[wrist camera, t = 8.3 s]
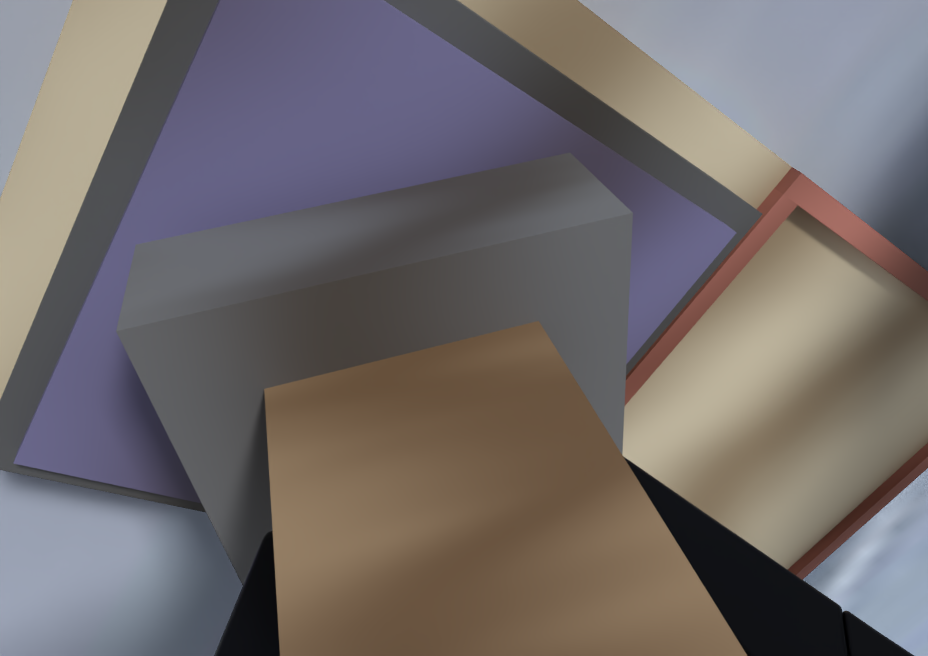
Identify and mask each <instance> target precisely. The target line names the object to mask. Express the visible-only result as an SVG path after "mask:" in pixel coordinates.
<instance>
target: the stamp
mask: <svg viewBox="0 0 928 656" xmlns="http://www.w3.org/2000/svg"><path fill="white" fill-rule="evenodd" d="M632 223H633V212H632V211H630V210H629V209H628V208H627V207H626V206H625V205H624V204H623V203H622V202H621V201H620V200H619V199H618V198H617V197H616V196H615V195H614V194H613V193H612V192H611V191H610V190H609V189H608V188H607V187H605V186H604V185H603V184H602V183H601V182H600V181H599V180H598V179H597V178H596V177H595V176H594V175H593V174H592V173H591V172H590V171H589V170H588V169H587V168H586V167H585V166H584V165H583V164H581V163H580V162H579V161H578V160H577V159H576V158H575V157H574V156H573V155H572V154H571V153H565V154H561V155H556V156H551V157H547V158H542V159H537V160H532V161H528V162H523V163H518V164H514V165H509V166H504V167H499V168H495V169H490V170H485V171H481V172H476V173H471V174H466V175H462V176H457V177H452V178H448V179H443V180H438V181H433V182H429V183H424V184H419V185H415V186H410V187H405V188H400V189H396V190H391V191H386V192H382V193H377V194H372V195H367V196H363V197H358V198H353V199H349V200H344V201H339V202H334V203H330V204H325V205H320V206H316V207H311V208H306V209H301V210H297V211H292V212H287V213H283V214H278V215H273V216H268V217H264V218H259V219H254V220H250V221H245V222H240V223H235V224H231V225H226V226H221V227H217V228H212V229H207V230H202V231H198V232H193V233H188V234H184V235H179V236H174V237H169V238H165V239H160V240H155V241H151V242H146V243H141V244H136V246H135V250H134V255H133V259H132V263H131V268H130V272H129V276H128V281H127V285H126V290H125V294H124V298H123V303H122V307H121V311H120V316H119V320H118V325H117V329H116V332H117V334H118V336H119V338H120V340H121V342H122V344H123V346H124V348H125V350H126V352H127V354H128V356H129V358H130V360H131V362H132V364H133V366H134V368H135V370H136V372H137V374H138V376H139V378H140V380H141V382H142V384H143V386H144V388H145V390H146V392H147V394H148V396H149V398H150V400H151V402H152V404H153V406H154V408H155V410H156V412H157V414H158V416H159V418H160V420H161V422H162V424H163V426H164V428H165V430H166V432H167V434H168V436H169V438H170V441H171V443H172V445H173V447H174V449H175V451H176V453H177V455H178V457H179V459H180V461H181V463H182V465H183V467H184V469H185V471H186V473H187V475H188V477H189V479H190V481H191V483H192V485H193V487H194V489H195V491H196V493H197V495H198V497H199V499H200V501H201V503H202V505H203V507H204V509H205V511H206V513H207V515H208V517H209V519H210V521H211V523H212V525H213V527H214V529H215V531H216V533H217V535H218V537H219V539H220V541H221V543H222V545H223V547H224V549H225V551H226V553H227V555H228V557H229V559H230V561H231V563H232V565H233V567H234V569H235V571H236V573H237V575H238V577H239V579H240V581H241V583H242V585H244V582H245V580H246V578H247V575H248V573H249V570H250V568H251V565H252V563H253V561H254V558H255V556H256V553H257V551H258V548H259V546H260V544H261V541H262V539H263V537H264V536H265V535H266V534H267V533H268V532H270V531H273V545H274V562H275V579H276V596H277V613H278V630H279V647H280V656H747V654H746V653H745V651H744V649H743V648H742V646H741V645H740V643H739V641H738V640H737V638H736V637H735V635H734V633H733V632H732V630H731V629H730V627H729V625H728V624H727V622H726V621H725V619H724V617H723V616H722V614H721V613H720V611H719V609H718V608H717V606H716V605H715V603H714V601H713V600H712V598H711V597H710V595H709V593H708V592H707V590H706V589H705V587H704V585H703V584H702V582H701V580H700V579H699V577H698V576H697V574H696V572H695V571H694V569H693V568H692V566H691V564H690V563H689V561H688V560H687V558H686V556H685V555H684V553H683V552H682V550H681V548H680V547H679V545H678V544H677V542H676V540H675V539H674V537H673V536H672V534H671V532H670V531H669V529H668V528H667V526H666V524H665V523H664V521H663V520H662V518H661V516H660V515H659V513H658V511H657V510H656V508H655V507H654V505H653V503H652V502H651V500H650V499H649V497H648V495H647V494H646V492H645V491H644V489H643V487H642V486H641V484H640V483H639V481H638V479H637V478H636V476H635V475H634V473H633V471H632V470H631V468H630V467H629V465H628V463H627V462H626V460H625V459H624V457H623V455H622V453H623V430H624V407H625V384H626V361H627V338H628V315H629V292H630V269H631V246H632Z"/></svg>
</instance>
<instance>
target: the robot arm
mask: <svg viewBox="0 0 928 656" xmlns="http://www.w3.org/2000/svg"><path fill="white" fill-rule="evenodd" d="M623 457H624V456H623ZM624 459H625V460H626V462H627V463H628V465H629V467H630V468H631V470H632V471H633V473H634V475H635V476H636V478H637V479H638V481H639V483H640V484H641V486H642V487H643V489H644V491H645V492H646V494H647V495H648V497H649V499H650V500H651V502H652V503H653V505H654V507H655V508H656V510H657V511H658V513H659V515H660V516H661V518H662V520H663V521H664V523H665V524H666V526H667V528H668V529H669V531H670V532H671V534H672V536H673V537H674V539H675V540H676V542H677V544H678V545H679V547H680V548H681V550H682V552H683V553H684V555H685V556H686V558H687V560H688V561H689V563H690V564H691V566H692V568H693V569H694V571H695V572H696V574H697V576H698V577H699V579H700V580H701V582H702V584H703V585H704V587H705V589H706V590H707V592H708V593H709V595H710V597H711V598H712V600H713V601H714V603H715V605H716V606H717V608H718V609H719V611H720V613H721V614H722V616H723V617H724V619H725V621H726V622H727V624H728V625H729V627H730V629H731V630H732V632H733V633H734V635H735V637H736V638H737V640H738V641H739V643H740V645H741V646H742V648H743V649H744V651H745V653H746V654H747V656H914V655H912V654H911V653H909V652H908V651H906V650H905V649H903V648H902V647H900V646H899V645H897V644H896V643H894V642H893V641H891V640H890V639H888V638H887V637H885V636H884V635H882V634H881V633H879V632H878V631H876V630H875V629H873V628H872V627H870V626H869V625H867V624H866V623H865V622H863V621H862V620H860V619H859V618H857V617H856V616H854V615H853V614H852V613H850V612H849V611H844V612H843V613H842V609H841V607H840V606H839V605H838V604H837V603H835V602H834V601H832V600H831V599H829V598H828V597H826V596H825V595H824V594H822V593H821V592H819V591H818V590H816V589H815V588H813V587H812V586H811V585H809V584H808V583H806V582H805V581H803V580H802V579H800V578H799V577H798V576H796V575H795V574H793V573H792V572H790V571H789V570H787V569H786V568H784V567H783V566H782V565H780V564H779V563H777V562H776V561H774V560H773V559H771V558H770V557H769V556H767V555H766V554H764V553H763V552H761V551H760V550H758V549H757V548H756V547H754V546H753V545H751V544H750V543H748V542H747V541H745V540H744V539H742V538H741V537H740V536H738V535H737V534H735V533H734V532H732V531H731V530H729V529H728V528H727V527H725V526H724V525H722V524H721V523H719V522H718V521H716V520H715V519H714V518H712V517H711V516H709V515H708V514H706V513H705V512H703V511H702V510H700V509H699V508H698V507H696V506H695V505H693V504H692V503H690V502H689V501H687V500H686V499H685V498H683V497H682V496H680V495H679V494H677V493H676V492H674V491H673V490H672V489H670V488H669V487H667V486H666V485H664V484H663V483H661V482H660V481H658V480H657V479H656V478H654V477H653V476H651V475H650V474H648V473H647V472H645V471H644V470H643V469H641V468H640V467H638V466H637V465H635V464H634V463H632V462H631V461H630V460H628V459H627V458H625V457H624ZM214 656H280V647H279V630H278V613H277V596H276V579H275V562H274V545H273V531H270V532H268V533H267V534H266V535H265V536H264V537H263V539H262V541H261V544H260V546H259V548H258V551H257V553H256V556H255V558H254V561H253V563H252V565H251V568H250V570H249V573H248V575H247V578H246V580H245V582H244V585H243V587H242V590H241V592H240V595H239V597H238V599H237V602H236V604H235V607H234V609H233V612H232V614H231V616H230V619H229V621H228V624H227V626H226V629H225V631H224V633H223V636H222V638H221V641H220V643H219V646H218V648H217V650H216V653H215V655H214Z"/></svg>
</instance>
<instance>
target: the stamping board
mask: <svg viewBox="0 0 928 656" xmlns="http://www.w3.org/2000/svg"><path fill="white" fill-rule="evenodd" d="M565 153H571V154H572V155H573V156H574V157H575V158H576V159H577V160H578V161H579V162H580V163H581V164H583V165H584V166H585V167H586V168H587V169H588V170H589V171H590V172H591V173H592V174H593V175H594V176H595V177H596V178H597V179H598V180H599V181H600V182H601V183H602V184H603V185H604V186H605V187H607V188H608V189H609V190H610V191H611V192H612V193H613V194H614V195H615V196H616V197H617V198H618V199H619V200H620V201H621V202H622V203H623V204H624V205H625V206H626V207H627V208H628V209H629V210H630V211H632V212H633V223H632V246H631V269H630V292H629V315H628V338H627V361H626V384H625V407H624V430H623V453H622V455H623V456H624V457H625V458H627V459H628V460H630V461H631V462H632V463H634V464H635V465H637V466H638V467H640V468H641V469H643V470H644V471H645V472H647V473H648V474H650V475H651V476H653V477H654V478H656V479H657V480H658V481H660V482H661V483H663V484H664V485H666V486H667V487H669V488H670V489H672V490H673V491H674V492H676V493H677V494H679V495H680V496H682V497H683V498H685V499H686V500H687V501H689V502H690V503H692V504H693V505H695V506H696V507H698V508H699V509H700V510H702V511H703V512H705V513H706V514H708V515H709V516H711V517H712V518H714V519H715V520H716V521H718V522H719V523H721V524H722V525H724V526H725V527H727V528H728V529H729V530H731V531H732V532H734V533H735V534H737V535H738V536H740V537H741V538H742V539H744V540H745V541H747V542H748V543H750V544H751V545H753V546H754V547H756V548H757V549H758V550H760V551H761V552H763V553H764V554H766V555H767V556H769V557H770V558H771V559H773V560H774V561H776V562H777V563H779V564H780V565H782V566H783V567H784V568H786V569H787V570H789V571H790V572H792V573H793V574H795V575H796V576H798V577H799V578H800V579H804V578H805V577H806V576H807V575H808V574H809V573H810V572H811V571H813V570H814V569H815V568H816V567H817V566H818V565H819V564H820V563H822V562H823V561H824V560H825V559H826V558H827V557H828V556H829V555H831V554H832V553H833V552H834V551H835V550H836V549H837V548H838V547H840V546H841V545H842V544H843V543H844V542H845V541H846V540H847V539H849V538H850V537H851V536H852V535H853V534H854V533H855V532H856V531H858V530H859V529H860V528H861V527H862V526H863V525H864V524H865V523H867V522H868V521H869V520H870V519H871V518H872V517H873V516H874V515H876V514H877V513H878V512H879V511H880V510H881V509H882V508H883V507H885V506H886V505H887V504H888V503H889V502H890V501H891V500H892V499H893V498H895V497H896V496H897V495H898V494H899V493H900V492H901V491H902V490H904V489H905V488H906V487H907V486H908V485H909V484H910V483H911V482H913V481H914V480H915V479H916V478H917V477H918V476H919V475H920V474H922V473H923V472H924V471H925V470H926V469H927V468H928V271H927V270H925V269H924V268H923V267H921V266H920V265H919V264H918V263H916V262H915V261H914V260H912V259H911V258H910V257H909V256H907V255H906V254H905V253H903V252H902V251H901V250H900V249H898V248H897V247H896V246H894V245H893V244H892V243H891V242H889V241H888V240H887V239H886V238H884V237H883V236H882V235H880V234H879V233H878V232H877V231H875V230H874V229H873V228H871V227H870V226H869V225H868V224H866V223H865V222H864V221H862V220H861V219H860V218H859V217H857V216H856V215H855V214H853V213H852V212H851V211H850V210H848V209H847V208H846V207H844V206H843V205H842V204H841V203H839V202H838V201H837V200H836V199H834V198H833V197H832V196H830V195H829V194H828V193H827V192H825V191H824V190H823V189H821V188H820V187H819V186H818V185H816V184H815V183H814V182H812V181H811V180H810V179H809V178H807V177H806V176H805V175H803V174H802V173H801V172H799V171H797V170H796V169H794V168H792V167H791V166H790V165H789V164H787V163H786V162H785V161H783V160H782V159H781V158H780V157H778V156H777V155H776V154H774V153H773V152H772V151H771V150H769V149H768V148H767V147H765V146H764V145H763V144H762V143H760V142H759V141H758V140H756V139H755V138H754V137H753V136H751V135H750V134H749V133H747V132H746V131H745V130H744V129H742V128H741V127H740V126H738V125H737V124H736V123H735V122H733V121H732V120H731V119H729V118H728V117H727V116H726V115H724V114H723V113H722V112H720V111H719V110H718V109H717V108H715V107H714V106H713V105H711V104H710V103H709V102H708V101H706V100H705V99H704V98H702V97H701V96H700V95H699V94H697V93H696V92H695V91H693V90H692V89H691V88H690V87H688V86H687V85H686V84H684V83H683V82H682V81H681V80H679V79H678V78H677V77H675V76H674V75H673V74H672V73H670V72H669V71H668V70H666V69H665V68H664V67H663V66H661V65H660V64H659V63H657V62H656V61H655V60H654V59H652V58H651V57H650V56H648V55H647V54H646V53H645V52H643V51H642V50H641V49H639V48H638V47H637V46H636V45H634V44H633V43H632V42H630V41H629V40H628V39H627V38H625V37H624V36H623V35H621V34H620V33H619V32H618V31H616V30H615V29H614V28H612V27H611V26H610V25H609V24H607V23H606V22H605V21H603V20H602V19H601V18H600V17H598V16H597V15H596V14H594V13H593V12H592V11H591V10H589V9H588V8H587V7H585V6H584V5H583V4H582V3H580V2H579V1H578V0H73V2H72V4H71V7H70V10H69V12H68V15H67V18H66V21H65V23H64V26H63V29H62V32H61V34H60V37H59V40H58V42H57V45H56V48H55V51H54V53H53V56H52V59H51V62H50V64H49V67H48V70H47V72H46V75H45V78H44V81H43V83H42V86H41V89H40V92H39V94H38V97H37V100H36V102H35V105H34V108H33V111H32V113H31V116H30V119H29V122H28V124H27V127H26V130H25V132H24V135H23V138H22V141H21V143H20V146H19V149H18V152H17V154H16V157H15V160H14V162H13V165H12V168H11V171H10V173H9V176H8V179H7V182H6V184H5V187H4V190H3V192H2V195H1V198H0V470H4V471H9V472H13V473H18V474H23V475H28V476H33V477H38V478H42V479H47V480H52V481H57V482H62V483H67V484H72V485H76V486H81V487H86V488H91V489H96V490H101V491H105V492H110V493H115V494H120V495H125V496H130V497H134V498H139V499H144V500H149V501H154V502H159V503H164V504H168V505H173V506H178V507H183V508H188V509H193V510H197V511H202V512H206V511H205V509H204V507H203V505H202V503H201V501H200V499H199V497H198V495H197V493H196V491H195V489H194V487H193V485H192V483H191V481H190V479H189V477H188V475H187V473H186V471H185V469H184V467H183V465H182V463H181V461H180V459H179V457H178V455H177V453H176V451H175V449H174V447H173V445H172V443H171V441H170V438H169V436H168V434H167V432H166V430H165V428H164V426H163V424H162V422H161V420H160V418H159V416H158V414H157V412H156V410H155V408H154V406H153V404H152V402H151V400H150V398H149V396H148V394H147V392H146V390H145V388H144V386H143V384H142V382H141V380H140V378H139V376H138V374H137V372H136V370H135V368H134V366H133V364H132V362H131V360H130V358H129V356H128V354H127V352H126V350H125V348H124V346H123V344H122V342H121V340H120V338H119V336H118V334H117V332H116V329H117V325H118V320H119V316H120V311H121V307H122V303H123V298H124V294H125V290H126V285H127V281H128V276H129V272H130V268H131V263H132V259H133V255H134V250H135V246H136V244H141V243H146V242H151V241H155V240H160V239H165V238H169V237H174V236H179V235H184V234H188V233H193V232H198V231H202V230H207V229H212V228H217V227H221V226H226V225H231V224H235V223H240V222H245V221H250V220H254V219H259V218H264V217H268V216H273V215H278V214H283V213H287V212H292V211H297V210H301V209H306V208H311V207H316V206H320V205H325V204H330V203H334V202H339V201H344V200H349V199H353V198H358V197H363V196H367V195H372V194H377V193H382V192H386V191H391V190H396V189H400V188H405V187H410V186H415V185H419V184H424V183H429V182H433V181H438V180H443V179H448V178H452V177H457V176H462V175H466V174H471V173H476V172H481V171H485V170H490V169H495V168H499V167H504V166H509V165H514V164H518V163H523V162H528V161H532V160H537V159H542V158H547V157H551V156H556V155H561V154H565Z"/></svg>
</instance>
